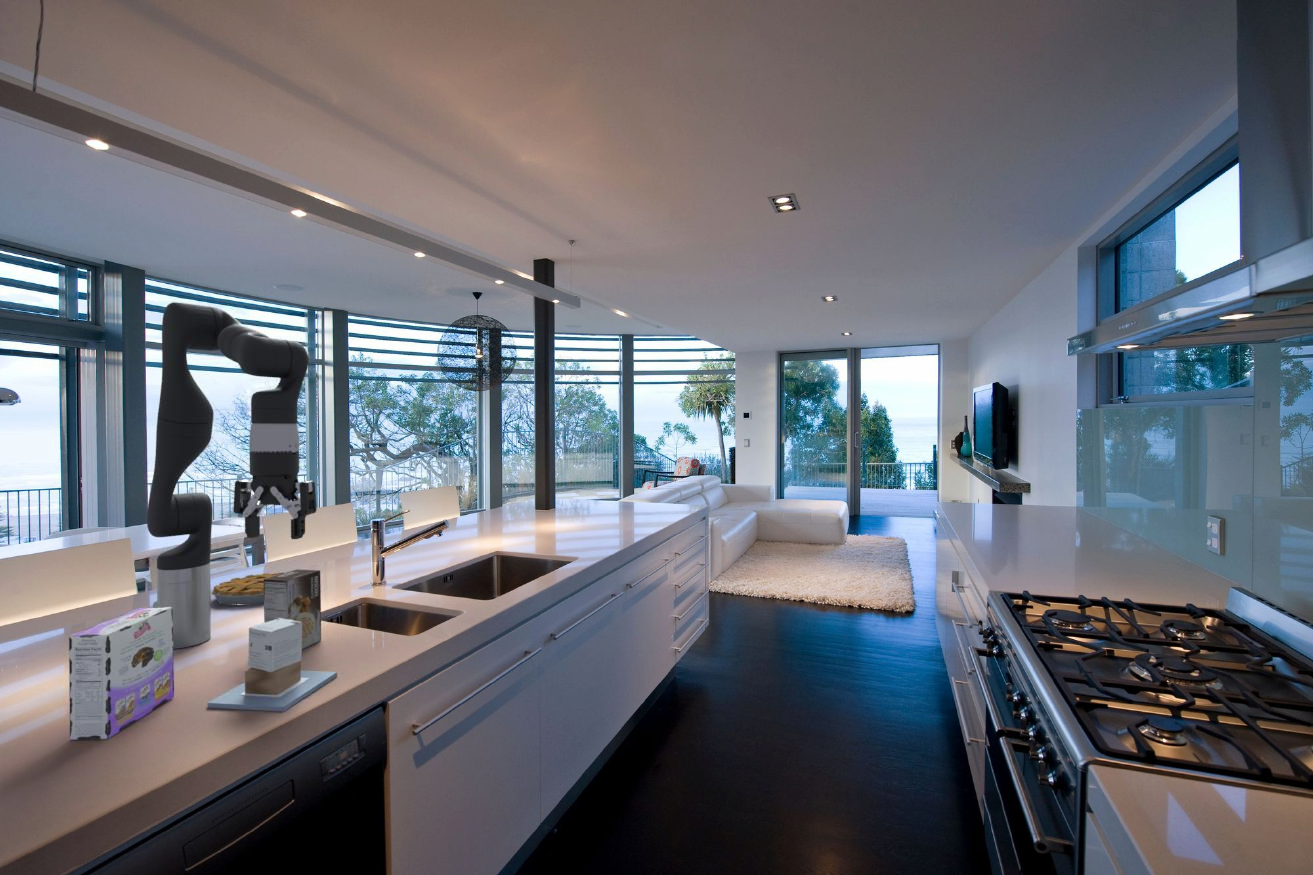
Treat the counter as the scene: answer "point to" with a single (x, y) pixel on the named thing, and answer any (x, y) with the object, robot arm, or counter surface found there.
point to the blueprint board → (273, 702)
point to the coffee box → (295, 601)
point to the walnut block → (272, 680)
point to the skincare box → (275, 644)
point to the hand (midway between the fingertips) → (275, 537)
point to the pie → (242, 590)
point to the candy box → (120, 672)
